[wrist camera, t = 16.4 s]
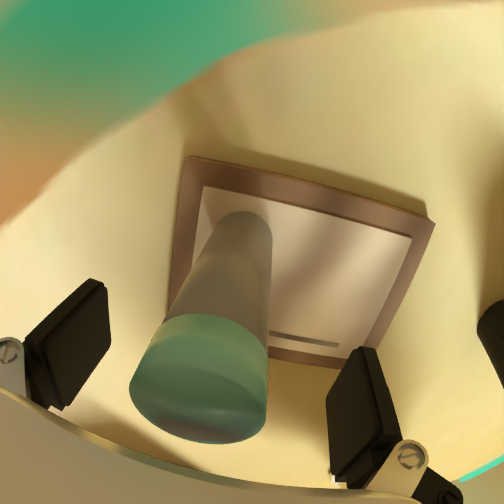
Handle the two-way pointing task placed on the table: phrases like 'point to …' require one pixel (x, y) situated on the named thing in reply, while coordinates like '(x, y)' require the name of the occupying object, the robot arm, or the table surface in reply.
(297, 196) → the board
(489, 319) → the drinking cup
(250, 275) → the translucent bottle
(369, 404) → the robot arm
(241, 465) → the table surface
